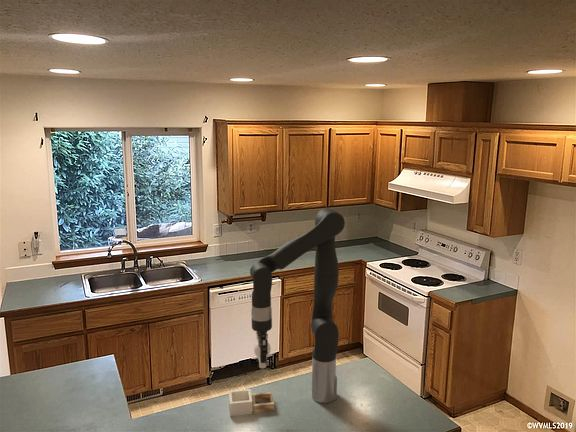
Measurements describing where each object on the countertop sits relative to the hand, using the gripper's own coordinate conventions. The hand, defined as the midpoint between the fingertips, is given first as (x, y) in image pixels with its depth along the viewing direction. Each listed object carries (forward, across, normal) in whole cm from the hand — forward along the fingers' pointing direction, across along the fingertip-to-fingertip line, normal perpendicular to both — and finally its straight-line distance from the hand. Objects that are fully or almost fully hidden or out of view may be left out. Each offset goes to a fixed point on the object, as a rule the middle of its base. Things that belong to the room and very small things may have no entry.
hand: (262, 357), depth 172 cm
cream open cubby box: (+20, 0, +9) cm, 22 cm away
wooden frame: (+20, 0, 0) cm, 20 cm away
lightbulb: (+4, 0, 0) cm, 4 cm away
